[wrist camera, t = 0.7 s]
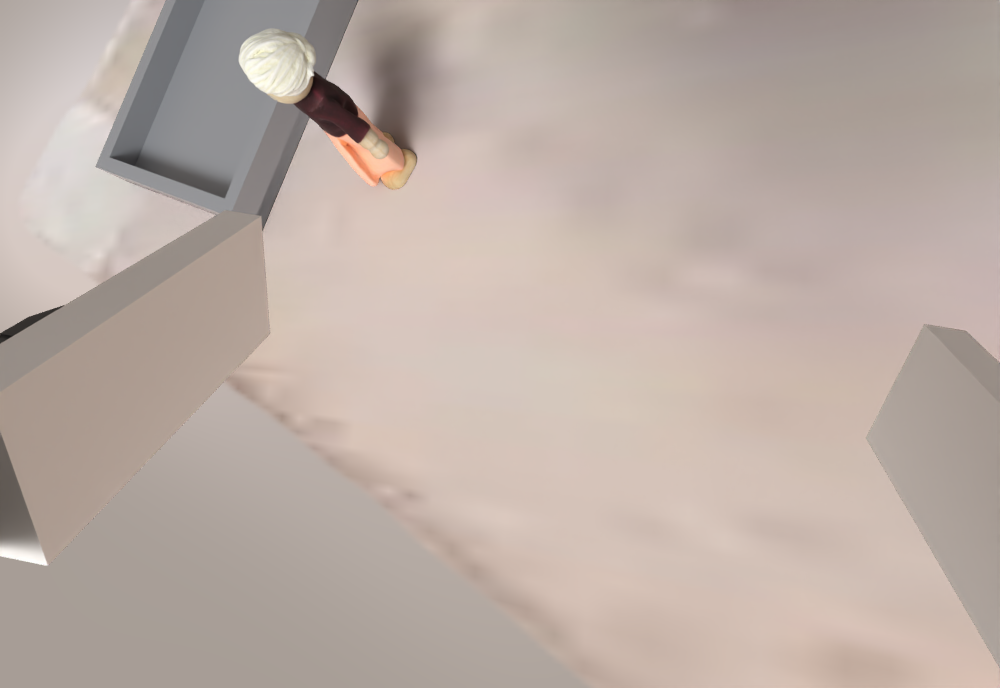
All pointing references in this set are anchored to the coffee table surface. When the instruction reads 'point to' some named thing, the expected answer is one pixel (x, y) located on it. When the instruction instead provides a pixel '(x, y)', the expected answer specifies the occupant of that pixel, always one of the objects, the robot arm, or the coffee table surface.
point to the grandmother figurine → (323, 105)
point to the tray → (216, 104)
